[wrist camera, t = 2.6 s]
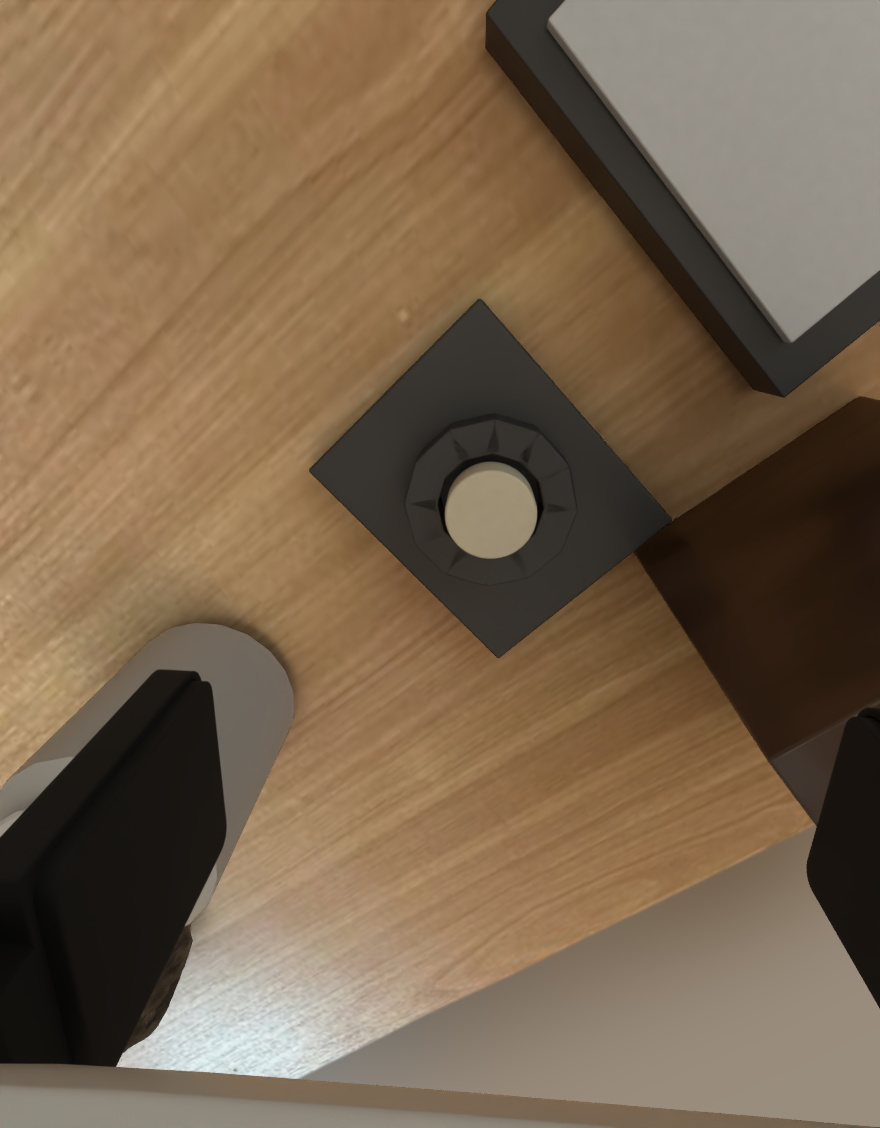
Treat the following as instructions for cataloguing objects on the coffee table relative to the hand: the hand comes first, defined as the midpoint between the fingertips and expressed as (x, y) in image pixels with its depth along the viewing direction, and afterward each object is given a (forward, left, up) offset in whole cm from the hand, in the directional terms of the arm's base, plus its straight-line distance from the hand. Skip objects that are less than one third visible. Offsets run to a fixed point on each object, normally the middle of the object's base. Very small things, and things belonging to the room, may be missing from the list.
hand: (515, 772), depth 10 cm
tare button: (0, 0, -16) cm, 16 cm away
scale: (-9, -14, -18) cm, 24 cm away
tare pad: (0, 0, -18) cm, 18 cm away
